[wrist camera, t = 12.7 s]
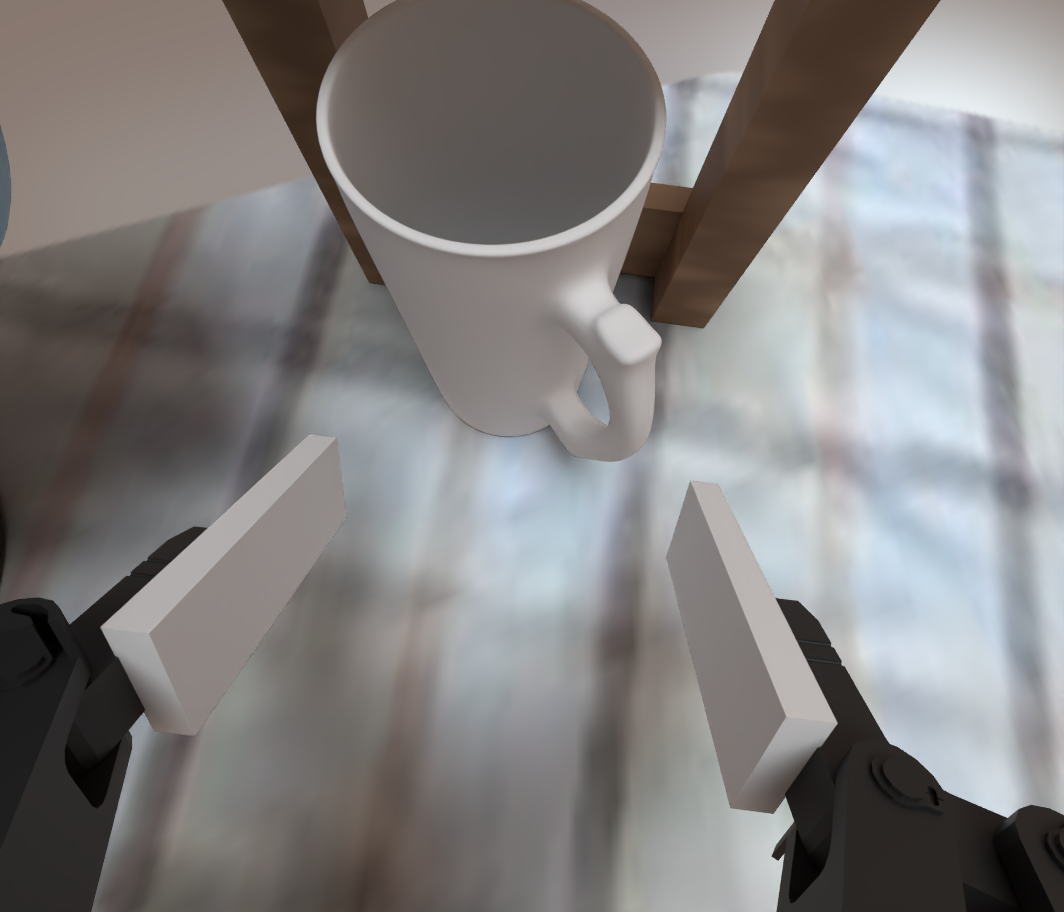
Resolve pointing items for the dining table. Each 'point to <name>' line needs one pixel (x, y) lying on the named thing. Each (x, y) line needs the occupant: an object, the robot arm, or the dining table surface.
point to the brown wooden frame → (669, 211)
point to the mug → (505, 203)
